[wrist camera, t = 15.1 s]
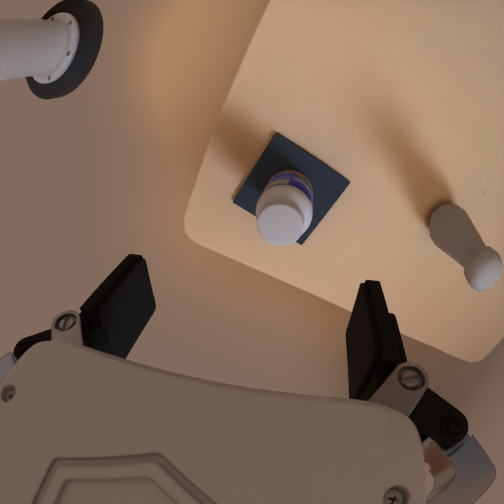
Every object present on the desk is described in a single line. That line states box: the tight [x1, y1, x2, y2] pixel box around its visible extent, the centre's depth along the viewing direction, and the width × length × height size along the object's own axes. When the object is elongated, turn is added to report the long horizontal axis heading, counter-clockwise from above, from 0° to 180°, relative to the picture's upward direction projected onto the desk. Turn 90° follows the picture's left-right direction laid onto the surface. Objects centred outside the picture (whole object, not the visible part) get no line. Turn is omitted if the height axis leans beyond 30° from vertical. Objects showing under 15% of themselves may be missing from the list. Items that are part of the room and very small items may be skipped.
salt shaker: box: [429, 204, 503, 291], centre depth 25 cm, size 6×6×13 cm
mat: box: [233, 133, 350, 245], centre depth 33 cm, size 10×10×1 cm
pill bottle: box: [256, 170, 313, 246], centre depth 28 cm, size 5×5×10 cm
